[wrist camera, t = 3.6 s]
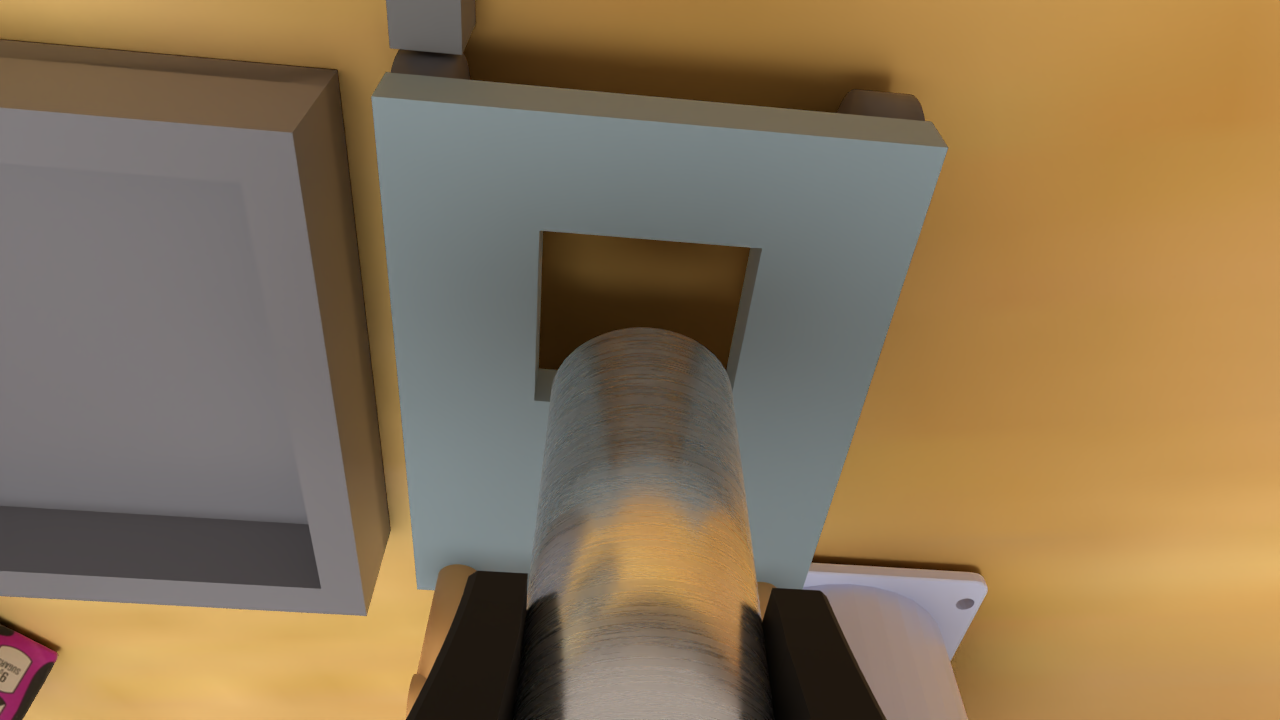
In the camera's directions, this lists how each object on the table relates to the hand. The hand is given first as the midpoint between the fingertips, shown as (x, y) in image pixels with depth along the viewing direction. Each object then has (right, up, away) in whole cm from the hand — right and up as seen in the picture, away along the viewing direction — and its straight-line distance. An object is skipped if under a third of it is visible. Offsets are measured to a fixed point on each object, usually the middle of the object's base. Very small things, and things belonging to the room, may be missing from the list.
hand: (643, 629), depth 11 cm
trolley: (0, +5, +9) cm, 10 cm away
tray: (-13, +4, +9) cm, 16 cm away
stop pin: (0, +3, +3) cm, 4 cm away
